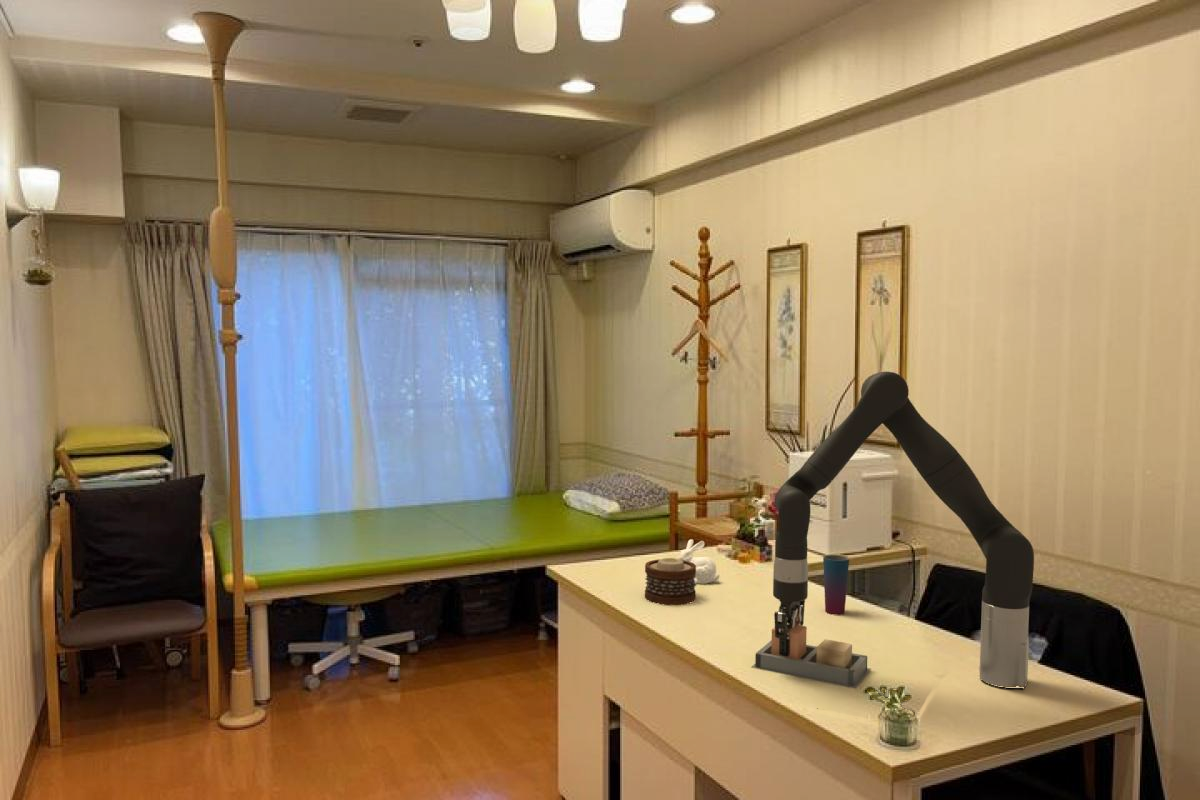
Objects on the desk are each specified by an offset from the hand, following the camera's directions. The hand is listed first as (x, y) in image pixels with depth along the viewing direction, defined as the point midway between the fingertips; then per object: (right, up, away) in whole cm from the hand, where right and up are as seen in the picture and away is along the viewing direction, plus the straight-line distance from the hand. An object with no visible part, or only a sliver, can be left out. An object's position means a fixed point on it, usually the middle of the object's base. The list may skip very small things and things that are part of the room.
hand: (789, 650), depth 201 cm
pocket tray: (+4, -4, -2) cm, 6 cm away
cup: (+21, -1, +42) cm, 47 cm away
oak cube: (+9, -3, -5) cm, 11 cm away
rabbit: (-13, +1, +72) cm, 74 cm away
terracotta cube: (0, -1, 0) cm, 1 cm away
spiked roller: (-22, 0, +55) cm, 59 cm away
